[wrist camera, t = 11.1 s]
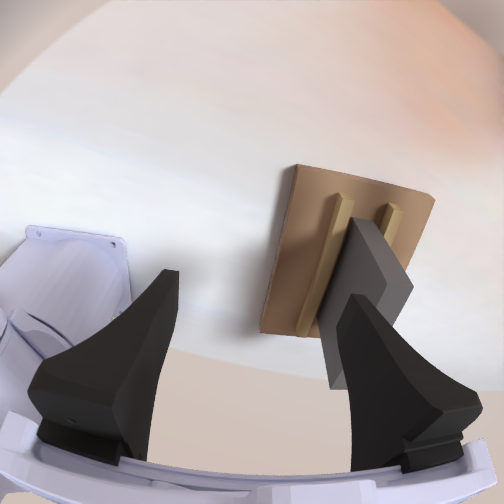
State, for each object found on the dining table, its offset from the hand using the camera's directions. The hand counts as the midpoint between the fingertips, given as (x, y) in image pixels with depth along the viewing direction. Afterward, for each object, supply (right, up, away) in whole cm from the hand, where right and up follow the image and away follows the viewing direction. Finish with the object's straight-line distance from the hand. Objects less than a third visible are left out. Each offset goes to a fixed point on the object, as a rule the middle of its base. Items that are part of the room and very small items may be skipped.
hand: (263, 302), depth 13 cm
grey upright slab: (+6, +1, +10) cm, 11 cm away
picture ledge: (+6, +1, +10) cm, 12 cm away
